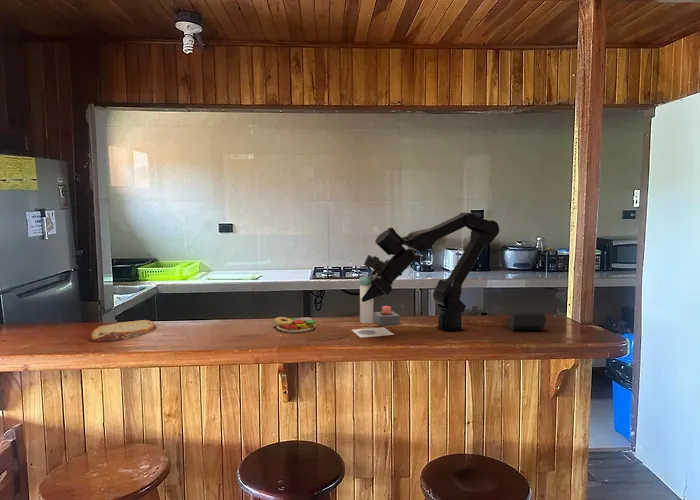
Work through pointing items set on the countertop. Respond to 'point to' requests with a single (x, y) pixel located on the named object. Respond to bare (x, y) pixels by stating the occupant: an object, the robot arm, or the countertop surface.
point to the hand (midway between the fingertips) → (362, 299)
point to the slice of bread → (122, 331)
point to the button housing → (386, 318)
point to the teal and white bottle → (366, 306)
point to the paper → (372, 332)
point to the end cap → (527, 319)
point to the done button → (386, 310)
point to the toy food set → (294, 324)
